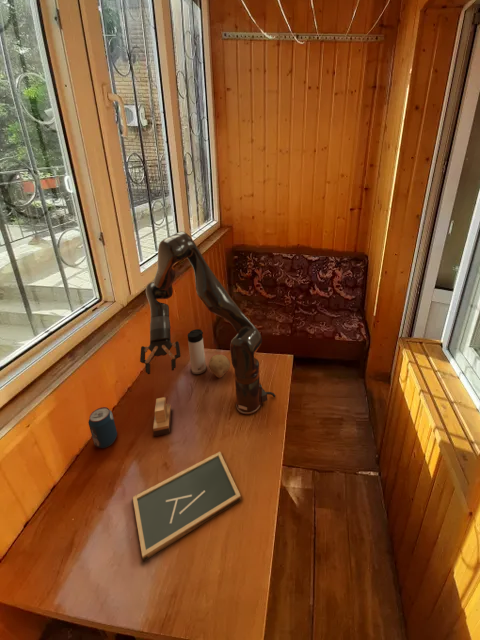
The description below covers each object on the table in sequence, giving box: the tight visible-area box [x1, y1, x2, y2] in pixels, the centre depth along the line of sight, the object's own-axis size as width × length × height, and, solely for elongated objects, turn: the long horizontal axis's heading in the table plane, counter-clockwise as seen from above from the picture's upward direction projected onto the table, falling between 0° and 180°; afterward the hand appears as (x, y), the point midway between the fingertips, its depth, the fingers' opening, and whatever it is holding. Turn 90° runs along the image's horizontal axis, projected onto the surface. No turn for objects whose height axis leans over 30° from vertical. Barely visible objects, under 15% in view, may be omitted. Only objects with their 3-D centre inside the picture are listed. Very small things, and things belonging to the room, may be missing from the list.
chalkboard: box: [132, 451, 242, 562], centre depth 88 cm, size 26×16×2 cm, turn 123°
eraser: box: [152, 396, 172, 437], centre depth 112 cm, size 10×5×9 cm, turn 16°
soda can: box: [88, 406, 118, 449], centre depth 104 cm, size 7×7×12 cm
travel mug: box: [187, 328, 207, 375], centre depth 137 cm, size 6×7×20 cm
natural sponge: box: [208, 354, 231, 378], centre depth 136 cm, size 9×9×10 cm
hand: (161, 372), depth 117 cm, fingers open, 8 cm apart
